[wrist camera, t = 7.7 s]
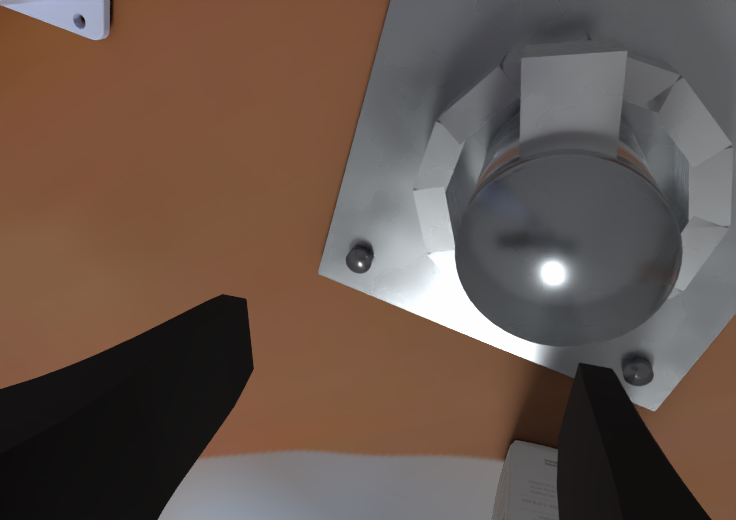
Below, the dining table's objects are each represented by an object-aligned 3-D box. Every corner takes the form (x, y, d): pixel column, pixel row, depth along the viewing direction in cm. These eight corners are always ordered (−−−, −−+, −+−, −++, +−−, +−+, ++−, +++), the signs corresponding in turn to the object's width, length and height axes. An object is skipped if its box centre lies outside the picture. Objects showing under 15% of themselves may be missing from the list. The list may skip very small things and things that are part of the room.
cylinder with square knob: (482, 240, 19) (457, 338, 14) (480, 33, 16) (447, 66, 11) (634, 244, 18) (665, 356, 13) (663, 18, 15) (718, 48, 10)
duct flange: (322, 267, 23) (298, 299, 21) (430, -134, 15) (410, -150, 13) (652, 402, 21) (663, 451, 19) (955, 29, 14) (1028, 42, 11)
